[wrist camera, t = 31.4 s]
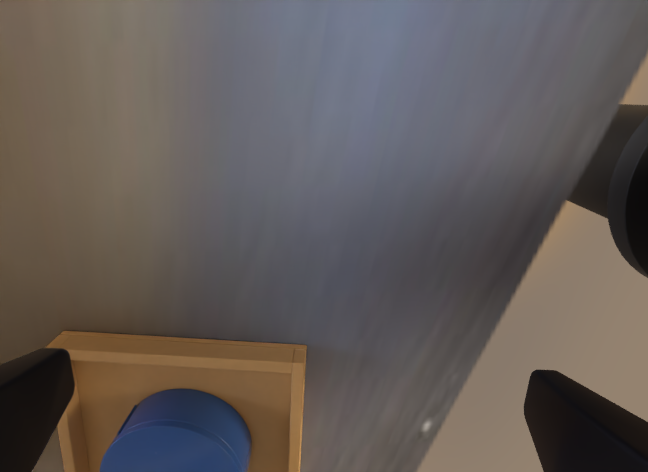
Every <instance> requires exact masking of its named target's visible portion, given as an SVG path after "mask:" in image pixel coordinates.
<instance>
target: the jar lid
mask: <svg viewBox="0 0 648 472" xmlns="http://www.w3.org/2000/svg"><path fill="white" fill-rule="evenodd" d="M251 452H252V440H251V435H250V431H249V429H248V426H247V424H246V422H245V421H244V419H243V418H242V416H241V415H240V414H239V413H238V412H237V411H236V410H235V409H234V408H233V407H232V406H231V405H230V404H228V403H227V402H225V401H224V400H222V399H220V398H219V397H216V396H214V395H212V394H209V393H206V392H203V391H199V390H195V389H183V388H180V389H168V390H164V391H160V392H157V393H155V394H152V395H150V396H148V397H147V398H145V399H143V400H142V401H141V402H140V403H138V404H137V405H134V407H133V409H132V410H131V412H130V413H129V415H128V417H127V418H126V420H125V421H124V423H123V425H122V426H121V428H120V429H119V431H118V432H117V435H116V436H115V438H114V440H113V441H112V443H111V444H110V446H109V448H108V449H107V451H106V452H105V454H104V456H103V459H102V461H101V465H100V472H247V471H248V466H249V462H250V457H251Z"/></svg>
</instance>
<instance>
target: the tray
mask: <svg viewBox="0 0 648 472" xmlns="http://www.w3.org/2000/svg"><path fill="white" fill-rule="evenodd" d="M45 348H63V349H66V350H67V351H68V352H69V354H70V359H71V365H72V370H73V376H74V382H75V389H74V394H73V396H72V399H71V401H70V402H69V404H68V406H67V408H66V410H65V412H64V413H63V415H62V417H61V419H60V421H59V423H58V425H57V429H58V435H59V441H60V447H61V453H62V459H63V465H64V472H100V465H101V461H102V459H103V456H104V454H105V452H106V451H107V449H108V448H109V446H110V444H111V443H112V441H113V440H114V438H115V436H116V435H117V432H118V431H119V429H120V428H121V426H122V425H123V423H124V421H125V420H126V418H127V417H128V415H129V413H130V412H131V410H132V409H133V407H134V405H137V404H138V403H140V402H141V401H142V400H143V399H145V398H147V397H148V396H150V395H152V394H155V393H157V392H160V391H164V390H168V389H180V388H183V389H195V390H199V391H203V392H206V393H209V394H212V395H214V396H216V397H219V398H220V399H222V400H224V401H225V402H227V403H228V404H230V405H231V406H232V407H233V408H234V409H235V410H236V411H237V412H238V413H239V414H240V415H241V416H242V418H243V419H244V421H245V422H246V424H247V426H248V429H249V431H250V435H251V440H252V452H251V457H250V462H249V466H248V471H247V472H300V462H301V443H302V425H303V407H304V388H305V370H306V352H307V345H297V344H280V343H263V342H246V341H230V340H213V339H196V338H179V337H162V336H145V335H128V334H111V333H95V332H78V331H63V332H62V333H61V334H60V335H59V336H57V337H56V338H55V339H54V340H53V341H52V342H51V343H50V344H48V345H47V346H46V347H45Z"/></svg>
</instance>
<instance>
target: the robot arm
mask: <svg viewBox="0 0 648 472" xmlns="http://www.w3.org/2000/svg"><path fill="white" fill-rule="evenodd" d="M74 389H75V382H74V376H73V370H72V365H71V359H70V354H69V352H68V351H67V350H66V349H63V348H42V349H39V350H37V351H34V352H32V353H29V354H27V355H24V356H22V357H19V358H16V359H14V360H11V361H9V362H6V363H4V364H1V365H0V472H32V470H33V468H34V466H35V465H36V463H37V461H38V460H39V458H40V456H41V454H42V452H43V450H44V449H45V447H46V445H47V443H48V441H49V439H50V437H51V436H52V434H53V432H54V430H55V428H56V426H57V425H58V423H59V421H60V419H61V417H62V415H63V413H64V412H65V410H66V408H67V406H68V404H69V402H70V401H71V399H72V396H73V394H74ZM524 415H525V419H526V422H527V425H528V427H529V431H530V433H531V436H532V439H533V442H534V445H535V448H536V451H537V453H538V456H539V459H540V462H541V465H542V468H543V471H544V472H648V422H646V421H645V420H643V419H641V418H639V417H637V416H636V415H634V414H632V413H630V412H629V411H627V410H625V409H623V408H621V407H620V406H618V405H616V404H615V403H613V402H611V401H609V400H607V399H606V398H604V397H602V396H600V395H598V394H597V393H595V392H593V391H591V390H589V389H588V388H586V387H584V386H583V385H581V384H579V383H577V382H576V381H573V380H572V379H570V378H568V377H567V376H565V375H563V374H561V373H559V372H558V371H554V370H535V371H533V372H532V374H531V376H530V380H529V384H528V389H527V394H526V398H525V403H524Z"/></svg>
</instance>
